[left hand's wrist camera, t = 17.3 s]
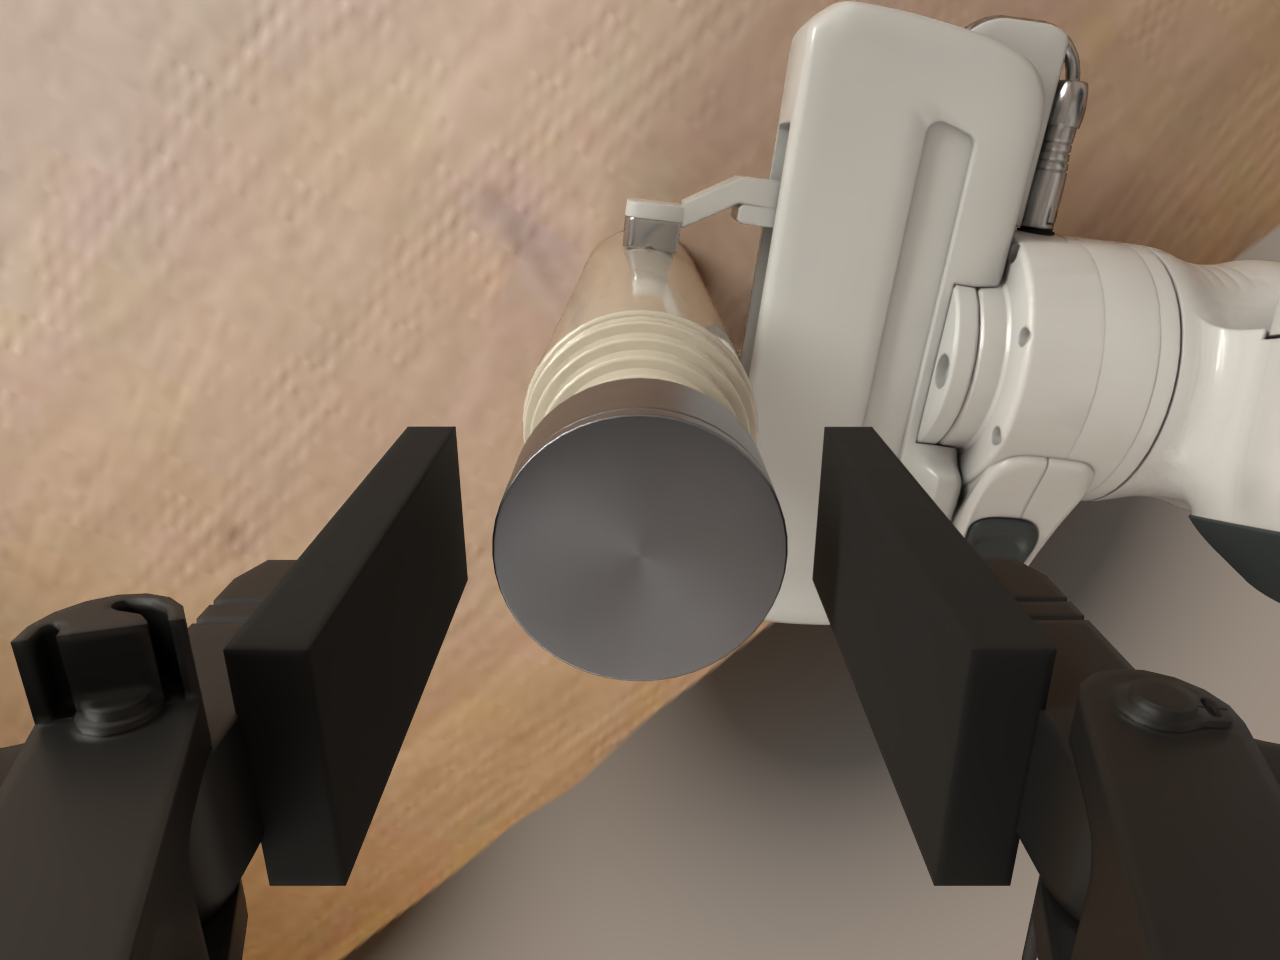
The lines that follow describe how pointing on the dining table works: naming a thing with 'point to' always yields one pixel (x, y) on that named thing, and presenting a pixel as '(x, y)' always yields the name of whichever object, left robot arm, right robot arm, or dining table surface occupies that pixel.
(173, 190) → the dining table surface
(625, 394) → the cap
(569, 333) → the bottle
